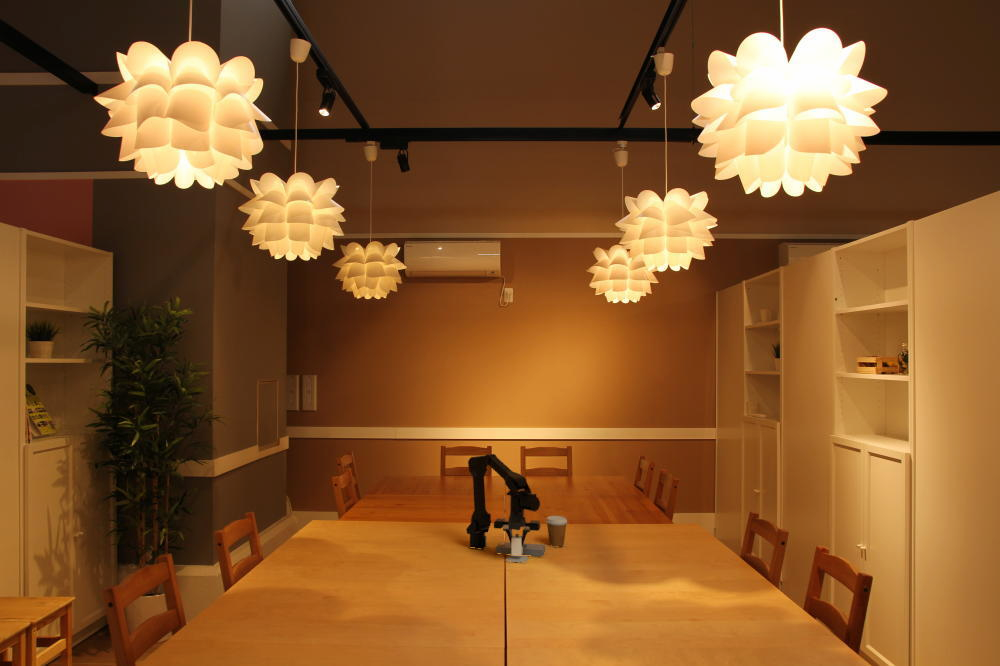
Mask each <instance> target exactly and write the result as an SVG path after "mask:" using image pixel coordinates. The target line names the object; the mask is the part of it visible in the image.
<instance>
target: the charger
mask: <svg viewBox="0 0 1000 666" xmlns="http://www.w3.org/2000/svg"><path fill="white" fill-rule="evenodd" d="M512 536H513V537H512V539H511V556H521V555H522V553H523V546H522V535H519V533H515V535H512Z"/></svg>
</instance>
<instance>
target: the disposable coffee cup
mask: <svg viewBox="0 0 1000 666" xmlns="http://www.w3.org/2000/svg"><path fill="white" fill-rule="evenodd" d="M545 522H546V526H547V532H548V533H547V535H548V541H549V543H548V544H549V546H550V545H552V546H563V545H564V546H565V538H566V530H567V523H568V520H567V518H566V517H565V516H562V515H551V516H548V517H547V518H546V520H545ZM552 546H551V547H552ZM564 546H563V547H564Z"/></svg>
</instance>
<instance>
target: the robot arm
mask: <svg viewBox="0 0 1000 666" xmlns="http://www.w3.org/2000/svg"><path fill="white" fill-rule="evenodd" d="M467 466H468V472H469V473H470V475H471V477H472V484H473V485H472V486H473V507H474V510H473V513H472V515H471V518H470V523H469V525H468V526H467V527H466V528H465V529H466V534H467V535H469V547H475V548H484V547H485V548H486V546H487V536H486V533H489V530H490V527H491V524H492V515H491V513H489V512H488V511H487V508H486V489H485V475H486V473H487V471H488V466H489V467H490V468H491V469H492V470H493V471H494V472H495V473H496V474H497V475H499V477H501V479H503V480H504V485H505V486H506V487H507V488H508V489H509V490H508V492H507V493H506V496H509V498H510V500H509V503H510V505H509V508H510V513H509V516H508V520H506V518H496V519H495V520H494V521H493V529H500V530H501V529H502V531H503V532H504V531H505V533H506V535H507V537H508V540H509V543H511V539H512V537H513V536H514V535H513V530H515V531H519V530H521V528H523V529H522V535H521V536H522V546H523V544H524V543H525V540H526V537H527V534H528V533H530V532H531V531H536V532H537V531H540V529H541V521H540V520H535V519H534V520H533V519H532V520H530V521H529V522H527V521H526V520H527V519H526V516H525V510H526V511H530V512H537V511H538V510H539V509H540V506H541V502H540V499H539V498H538V497H537V493H532V490H531V488H530V486H529V484H528V481H527V478H526V477H525V476H523V475H522V474H520V473H518V472H516V471H513V470H511V469H510V468H509V467H508V466H507V465H506V464H505V463H504V462H503V461H502V460H501V459H500V458H498V456H497V455H496V454H494V453H489V454H485V455H479V456H471V457H470V458H469V459H468V460H467ZM485 548H484V549H485Z"/></svg>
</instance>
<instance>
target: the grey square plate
mask: <svg viewBox="0 0 1000 666" xmlns="http://www.w3.org/2000/svg"><path fill="white" fill-rule="evenodd" d="M527 558H528V559H529V556H511V555H507V558H506V559H505V562H506V561H511V562H526V563H527V561H528V559H527ZM526 560H527V561H526Z"/></svg>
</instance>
